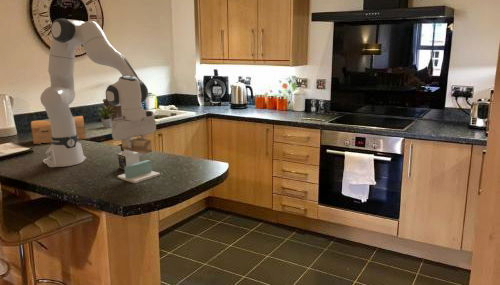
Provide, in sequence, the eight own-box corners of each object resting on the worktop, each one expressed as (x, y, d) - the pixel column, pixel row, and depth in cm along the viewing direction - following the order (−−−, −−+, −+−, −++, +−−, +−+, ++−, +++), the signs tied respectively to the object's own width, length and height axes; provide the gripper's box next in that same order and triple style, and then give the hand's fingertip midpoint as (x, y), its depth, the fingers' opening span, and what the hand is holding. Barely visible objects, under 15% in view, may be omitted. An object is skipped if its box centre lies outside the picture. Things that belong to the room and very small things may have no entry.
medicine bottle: (119, 167, 200) (116, 143, 197) (132, 164, 204) (130, 140, 202) (126, 170, 195) (123, 145, 192) (140, 167, 199) (137, 142, 197)
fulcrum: (117, 177, 184) (116, 164, 183) (142, 170, 194) (141, 157, 192) (135, 183, 176) (133, 169, 174) (160, 175, 185) (159, 162, 184)
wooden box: (85, 134, 280) (82, 114, 277) (86, 139, 265) (83, 117, 262) (35, 140, 268) (31, 118, 265) (33, 145, 254) (29, 123, 250)
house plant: (106, 130, 291) (103, 106, 287) (91, 129, 296) (88, 106, 293) (121, 126, 303) (118, 103, 299) (106, 125, 309) (104, 103, 305)
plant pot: (123, 120, 325) (120, 100, 321) (102, 121, 325) (99, 100, 321) (128, 117, 341) (126, 97, 337) (108, 117, 340) (106, 98, 337)
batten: (144, 153, 176) (142, 142, 174) (122, 148, 186) (121, 137, 185) (152, 151, 179) (150, 140, 177) (130, 146, 189) (128, 136, 187)
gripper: (115, 119, 169) (119, 152, 172) (156, 111, 184) (159, 142, 187) (106, 118, 173) (111, 150, 176) (147, 110, 188) (150, 140, 191)
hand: (136, 146), depth 182 cm, fingers closed on batten, 4 cm apart
